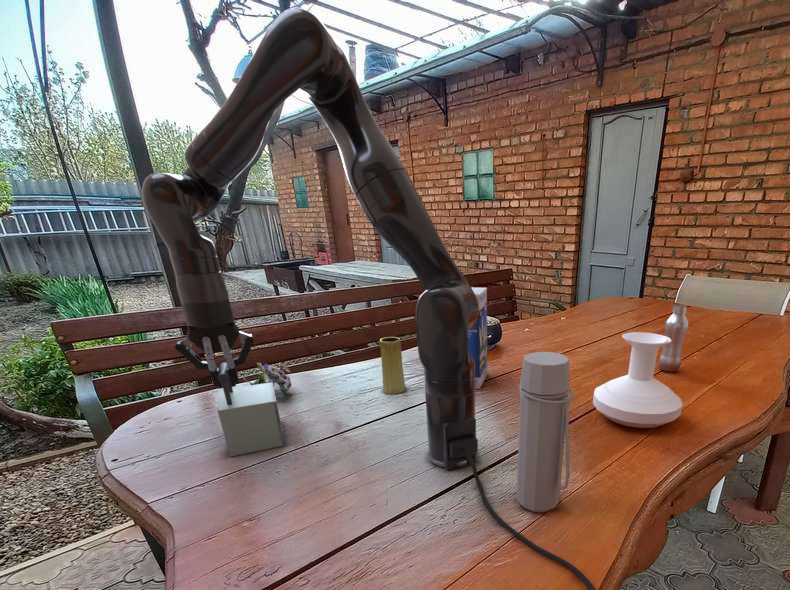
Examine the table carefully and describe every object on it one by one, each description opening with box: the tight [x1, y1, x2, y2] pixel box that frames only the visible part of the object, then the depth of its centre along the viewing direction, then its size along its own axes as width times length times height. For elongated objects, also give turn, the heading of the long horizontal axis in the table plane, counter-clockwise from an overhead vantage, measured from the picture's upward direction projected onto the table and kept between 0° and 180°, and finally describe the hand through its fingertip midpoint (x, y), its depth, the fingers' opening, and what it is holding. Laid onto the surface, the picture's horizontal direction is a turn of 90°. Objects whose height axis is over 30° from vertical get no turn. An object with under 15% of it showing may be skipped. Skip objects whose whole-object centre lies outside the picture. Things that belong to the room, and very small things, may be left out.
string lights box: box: [468, 287, 488, 390], centre depth 119 cm, size 13×8×26 cm, turn 171°
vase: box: [379, 336, 407, 395], centre depth 114 cm, size 6×6×14 cm
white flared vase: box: [592, 331, 683, 429], centre depth 98 cm, size 20×20×19 cm
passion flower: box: [242, 362, 293, 396], centre depth 110 cm, size 11×11×12 cm
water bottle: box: [516, 351, 575, 513], centre depth 65 cm, size 9×8×25 cm
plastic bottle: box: [657, 304, 690, 372], centre depth 129 cm, size 6×7×20 cm
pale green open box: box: [217, 362, 286, 457], centre depth 87 cm, size 12×16×10 cm
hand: (227, 386), depth 84 cm, fingers closed on pale green open box
